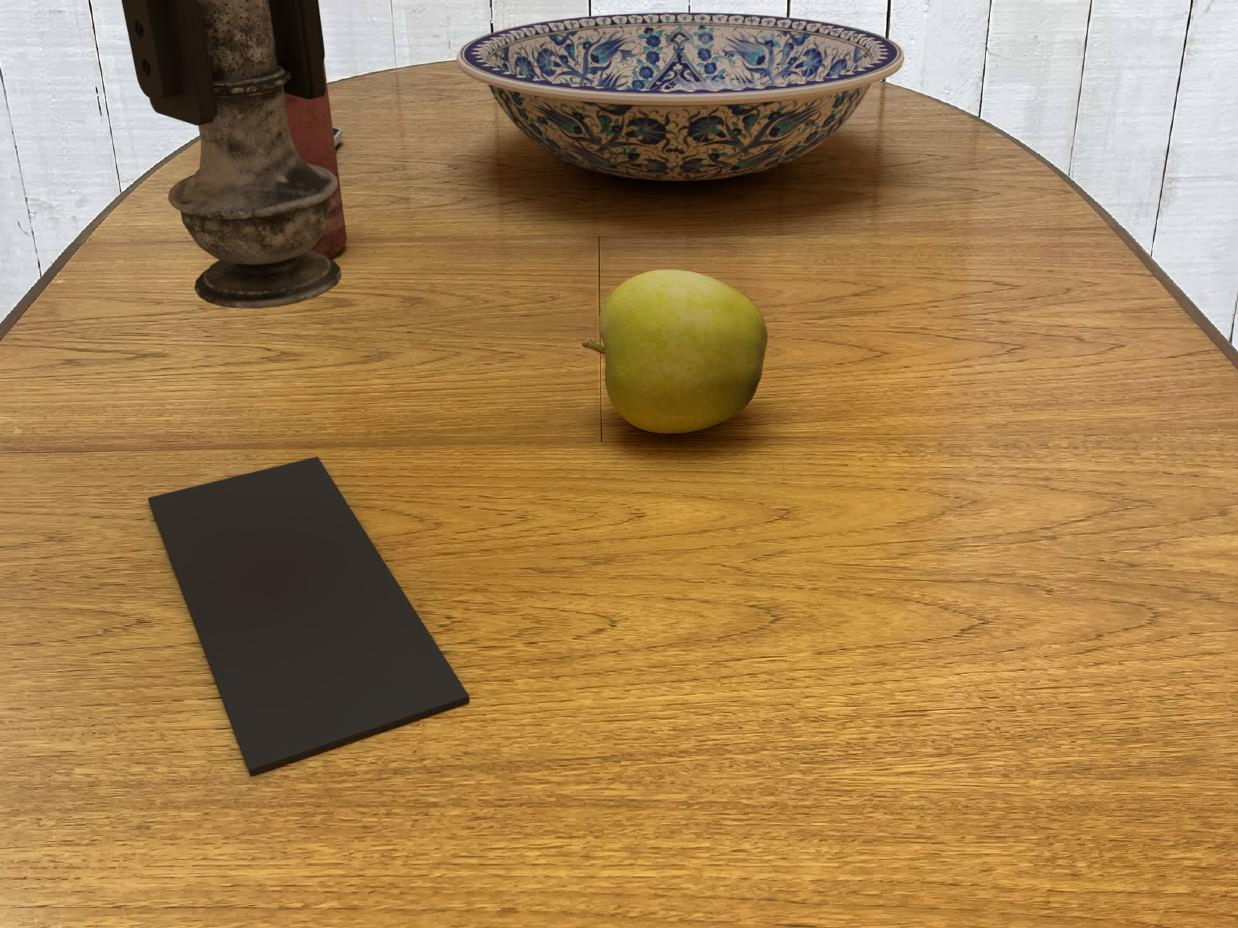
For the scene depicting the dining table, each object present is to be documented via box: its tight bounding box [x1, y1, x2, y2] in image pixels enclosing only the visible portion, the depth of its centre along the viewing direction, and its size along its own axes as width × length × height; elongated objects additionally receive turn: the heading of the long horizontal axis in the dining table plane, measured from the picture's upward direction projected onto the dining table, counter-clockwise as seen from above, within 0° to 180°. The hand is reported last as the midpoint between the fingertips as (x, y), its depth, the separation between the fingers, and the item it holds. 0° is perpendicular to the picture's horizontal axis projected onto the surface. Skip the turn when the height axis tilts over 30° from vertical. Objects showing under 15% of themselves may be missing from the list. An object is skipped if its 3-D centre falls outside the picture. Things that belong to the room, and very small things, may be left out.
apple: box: [581, 269, 769, 434], centre depth 62 cm, size 8×9×8 cm
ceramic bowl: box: [456, 11, 905, 182], centre depth 99 cm, size 34×34×10 cm
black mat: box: [147, 456, 471, 777], centre depth 52 cm, size 8×20×1 cm, turn 27°
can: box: [284, 61, 348, 259], centre depth 83 cm, size 6×6×14 cm
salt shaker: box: [167, 0, 342, 310], centre depth 43 cm, size 6×6×12 cm
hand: (239, 99), depth 43 cm, fingers closed on salt shaker, 3 cm apart
